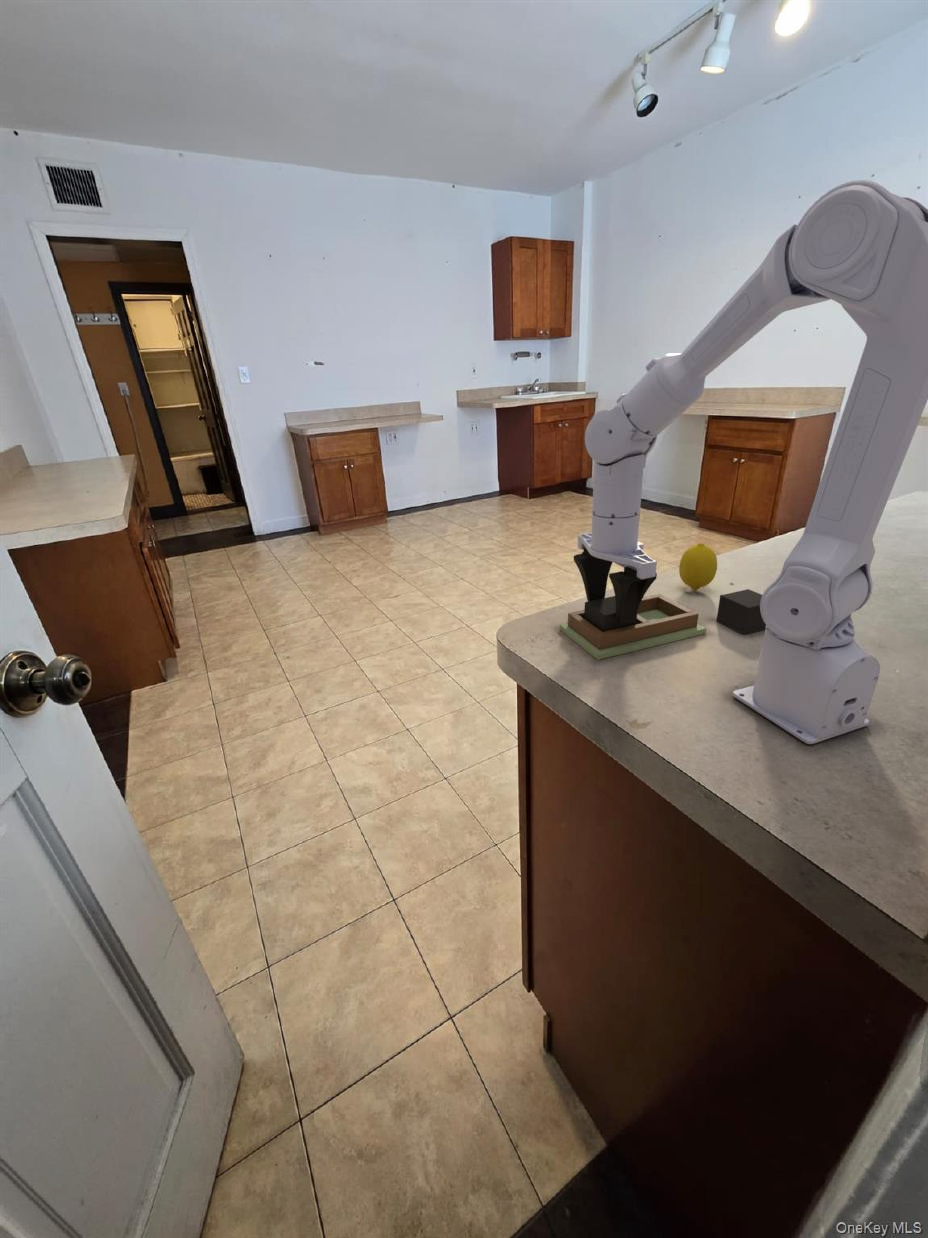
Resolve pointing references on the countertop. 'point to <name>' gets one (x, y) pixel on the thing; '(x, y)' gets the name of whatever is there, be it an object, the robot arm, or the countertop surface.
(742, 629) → the black block
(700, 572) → the lemon
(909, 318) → the robot arm
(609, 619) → the pad
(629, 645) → the dock
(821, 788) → the countertop surface
